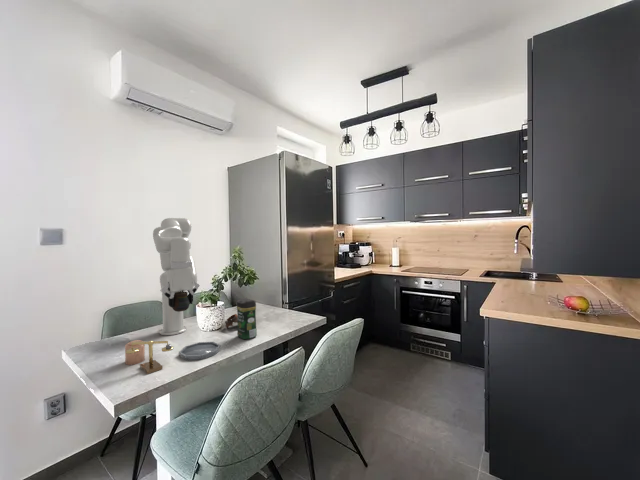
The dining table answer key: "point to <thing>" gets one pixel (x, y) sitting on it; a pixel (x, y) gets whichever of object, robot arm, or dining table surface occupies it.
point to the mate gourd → (181, 301)
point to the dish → (199, 350)
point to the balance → (150, 356)
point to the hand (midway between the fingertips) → (181, 305)
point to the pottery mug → (229, 321)
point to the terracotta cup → (135, 357)
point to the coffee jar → (246, 318)
